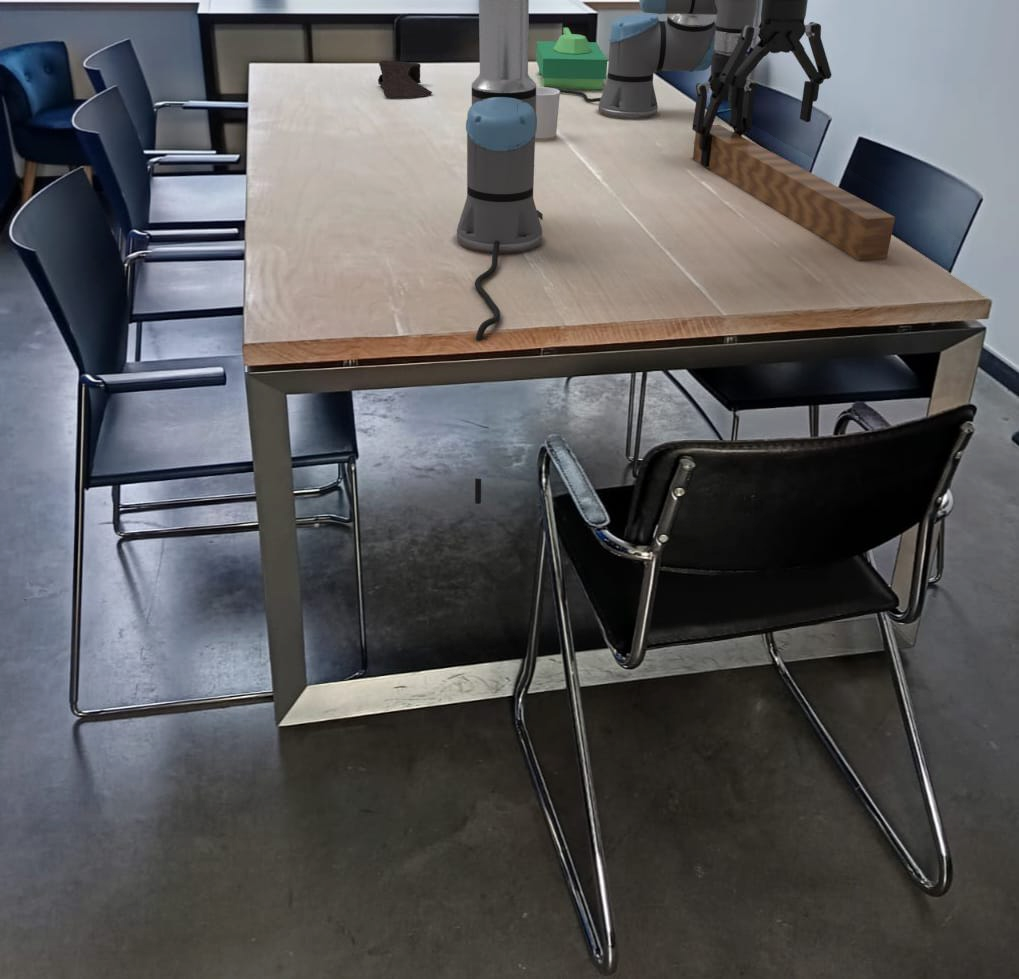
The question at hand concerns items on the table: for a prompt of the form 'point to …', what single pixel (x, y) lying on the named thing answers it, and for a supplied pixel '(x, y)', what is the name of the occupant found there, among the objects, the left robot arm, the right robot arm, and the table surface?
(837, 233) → the post
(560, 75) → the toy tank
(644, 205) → the table surface
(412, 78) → the axe head
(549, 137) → the mug
